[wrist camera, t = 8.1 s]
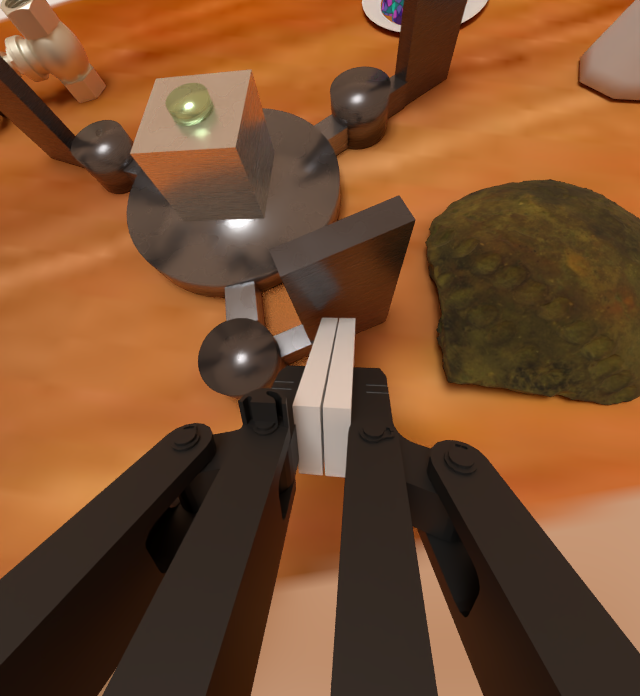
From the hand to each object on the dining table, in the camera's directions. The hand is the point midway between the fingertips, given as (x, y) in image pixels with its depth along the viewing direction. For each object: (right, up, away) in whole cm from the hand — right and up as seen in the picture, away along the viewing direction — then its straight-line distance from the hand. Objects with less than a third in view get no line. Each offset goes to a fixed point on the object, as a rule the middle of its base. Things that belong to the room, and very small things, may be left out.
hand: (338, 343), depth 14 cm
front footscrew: (-2, 0, +4) cm, 5 cm away
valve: (-29, +26, +16) cm, 42 cm away
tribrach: (-9, +13, +9) cm, 18 cm away
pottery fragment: (+12, +3, +4) cm, 13 cm away
